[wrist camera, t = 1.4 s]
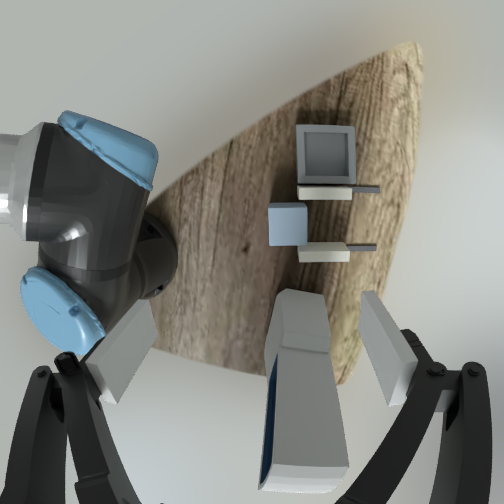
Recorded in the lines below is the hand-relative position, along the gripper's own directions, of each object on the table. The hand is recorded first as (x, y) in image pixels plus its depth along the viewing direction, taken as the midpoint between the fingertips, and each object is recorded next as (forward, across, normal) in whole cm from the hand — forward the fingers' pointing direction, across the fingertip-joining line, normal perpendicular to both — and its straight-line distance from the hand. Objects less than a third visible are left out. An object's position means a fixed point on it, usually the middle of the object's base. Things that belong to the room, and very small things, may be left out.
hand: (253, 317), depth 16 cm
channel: (+26, +8, 0) cm, 27 cm away
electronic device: (+26, +3, -17) cm, 32 cm away
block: (+26, +3, 0) cm, 27 cm away
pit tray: (+26, +9, +9) cm, 29 cm away
